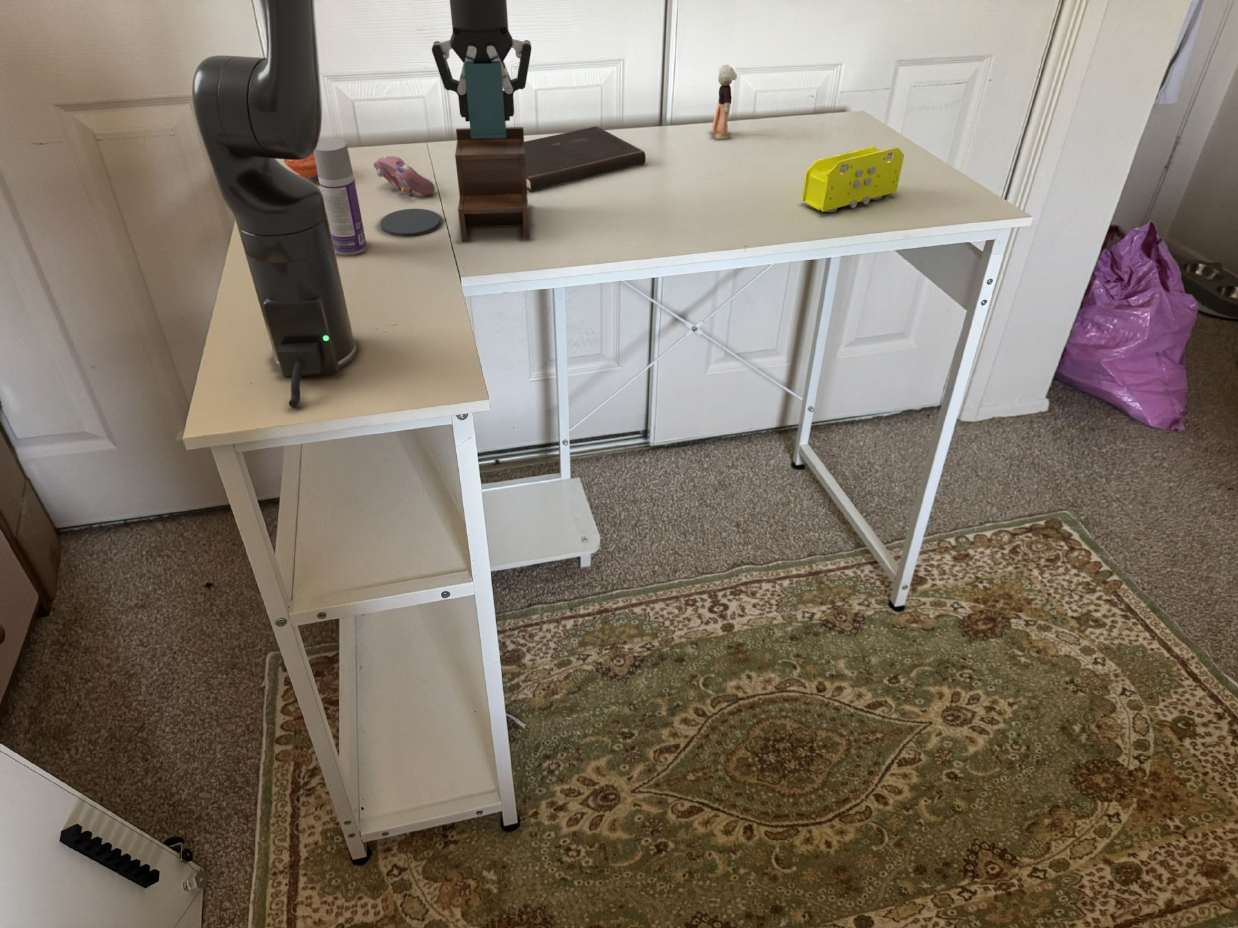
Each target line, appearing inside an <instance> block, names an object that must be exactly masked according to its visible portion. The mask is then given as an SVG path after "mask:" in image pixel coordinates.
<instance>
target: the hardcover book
mask: <svg viewBox="0 0 1238 928" xmlns="http://www.w3.org/2000/svg"><path fill="white" fill-rule="evenodd" d="M524 147H525V163H526V180H527V192H534V191H538V190H543V189H546V188H551V187H555V186H559V185H563V184H567V183H572V182H575V181H580V180H583V179H588V178H592V177H595V176H601V175H604V174H608V173H609V174H610V173H612V172H615V171H621V170H625V169H629V168H634V167H637V166H641V165H644V164H646V160H647V158H646V157H647V156H646V152H645V151H644V150H643V149H641V148H639V147H638V146H635V145H633V144H631V143H629V142H627V141H625V140H624V139H622V138H620V137H618V136H616V135H615V134H612V133H610V132H608V131H607V130H605V129H602V128H601V127H599V126H597V125H596V126H591V127H587V128H586V127H585V128H582V129H578V130H573V131H569V132H563V133H559V134H554V135H553V134H552V135H548V136H544V137H540V138H535V139H530V140H526V141H525V140H524Z"/></svg>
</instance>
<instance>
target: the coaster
mask: <svg viewBox="0 0 1238 928" xmlns="http://www.w3.org/2000/svg"><path fill="white" fill-rule="evenodd" d="M441 223H442V221H441V216H440V215H439V214H438V213H437V212H435V211H433V210H430V209H426V208H425V209H424V208H405V209H399V210H396V211H393V212H390V213H388V214H386V215H385V216H383V218H382V219H381V220H380V228H381V229H382V231H384V232H385V233H387V234H389V235H392V236H396V237H397V236H398V237H416V236H421V235H425V234H428V233H431V232H432V231H435V230H436V229H437V228H439V226H441Z"/></svg>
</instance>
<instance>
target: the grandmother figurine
mask: <svg viewBox="0 0 1238 928" xmlns="http://www.w3.org/2000/svg"><path fill="white" fill-rule="evenodd" d="M718 74H719V75H718V77H717V80H718V83H719V85H720V86H719V89H718V101H717V106H716V110H715V113H714V118H713V121H712V124H711V125H712V126H711V131H710V132H711V134H713V135H714V139H716V140H728V139H730V135H729V134H728V131H729V127H728V118H729V115H730V111H731V103H732V87H731V84H732V82H733V81H736V79H738V78H737V75H738V74H737V73H736V71H735V69H734V68H733V67H732V66H731V65H729V64H722V65H720V67H719V70H718Z"/></svg>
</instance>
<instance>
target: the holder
mask: <svg viewBox="0 0 1238 928" xmlns="http://www.w3.org/2000/svg"><path fill="white" fill-rule="evenodd" d="M464 70H465V80H466V90H467V101H468V111H469V128H470V132H471V139H483V138H506V127H507V121H505V111H504V97H503V90H504V88H503V83H502V70H501V62H497V63H464Z"/></svg>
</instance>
